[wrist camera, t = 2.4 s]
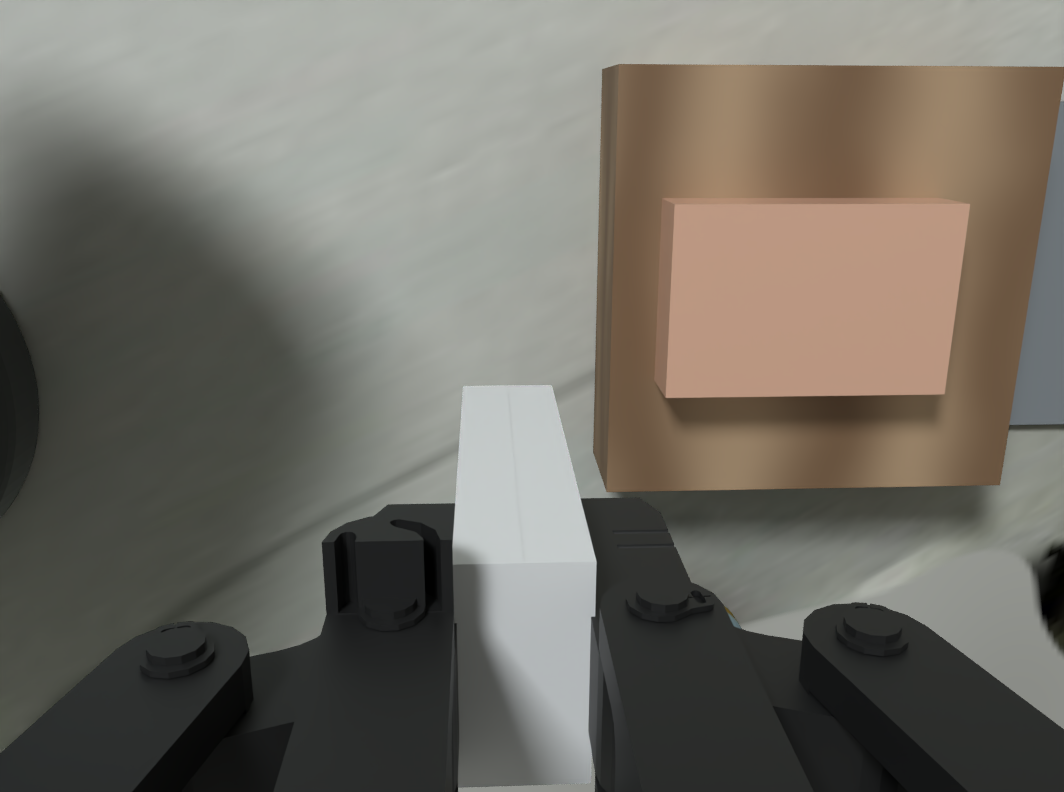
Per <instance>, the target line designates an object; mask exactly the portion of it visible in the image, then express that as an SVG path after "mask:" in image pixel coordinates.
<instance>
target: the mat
mask: <svg viewBox="0 0 1064 792" xmlns="http://www.w3.org/2000/svg"><path fill="white" fill-rule="evenodd" d="M1036 424H1064V102H1060V106H1059V113H1058V119H1057V126H1056V132H1055V138H1054V145H1053V151H1052V157H1051V164H1050V170H1049V176H1048V183H1047V189H1046V195H1045V202H1044V208H1043V214H1042V221H1041V227H1040V233H1039V240H1038V246H1037V252H1036V259H1035V265H1034V271H1033V278H1032V284H1031V290H1030V297H1029V303H1028V309H1027V316H1026V322H1025V328H1024V335H1023V341H1022V347H1021V354H1020V360H1019V366H1018V373H1017V379H1016V385H1015V392H1014V398H1013V404H1012V411H1011V417H1010V424H1009V425H1036Z"/></svg>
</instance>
